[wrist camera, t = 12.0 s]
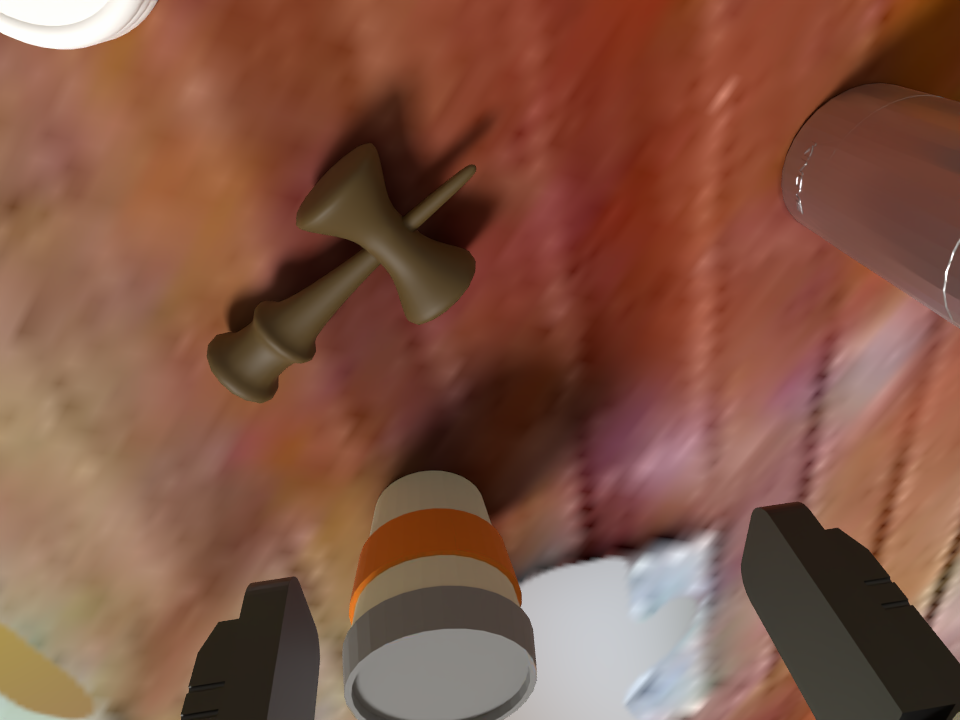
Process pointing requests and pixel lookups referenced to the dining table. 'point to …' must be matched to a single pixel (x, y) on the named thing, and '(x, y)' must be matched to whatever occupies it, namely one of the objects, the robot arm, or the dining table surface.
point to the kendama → (347, 273)
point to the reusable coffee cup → (436, 610)
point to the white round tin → (71, 21)
